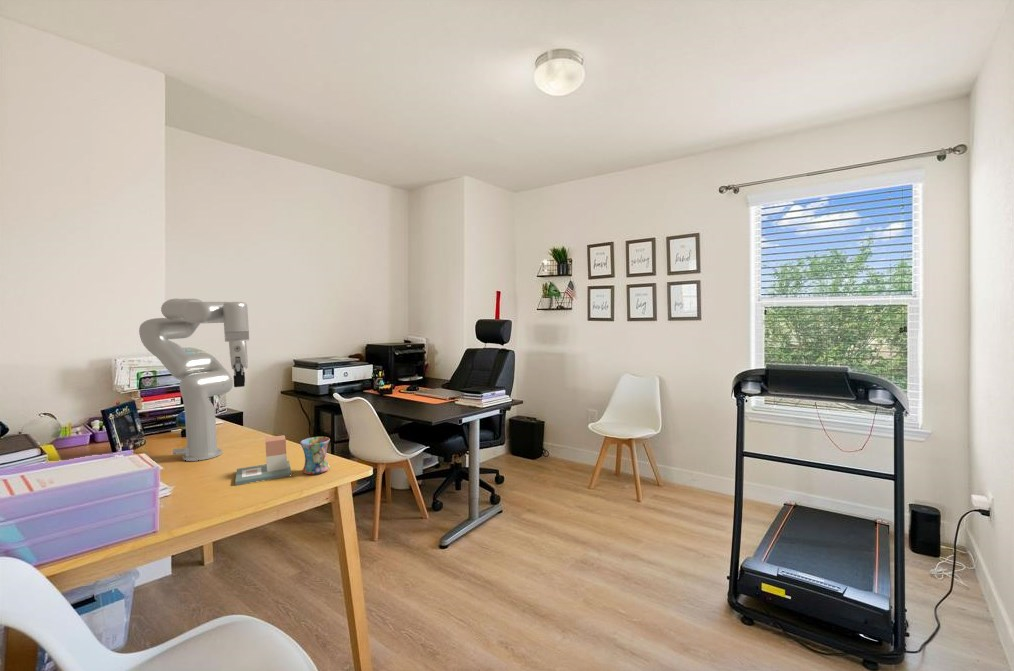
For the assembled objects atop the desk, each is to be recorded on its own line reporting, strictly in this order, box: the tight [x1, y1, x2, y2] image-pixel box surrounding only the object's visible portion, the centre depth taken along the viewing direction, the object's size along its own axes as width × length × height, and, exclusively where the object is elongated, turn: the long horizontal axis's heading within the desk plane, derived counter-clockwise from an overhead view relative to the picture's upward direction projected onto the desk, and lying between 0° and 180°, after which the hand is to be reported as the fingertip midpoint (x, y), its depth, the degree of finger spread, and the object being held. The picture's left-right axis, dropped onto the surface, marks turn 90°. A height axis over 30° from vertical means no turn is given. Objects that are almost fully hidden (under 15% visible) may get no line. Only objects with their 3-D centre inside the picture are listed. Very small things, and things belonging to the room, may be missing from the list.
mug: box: [299, 436, 331, 475], centre depth 158 cm, size 12×9×11 cm
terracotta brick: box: [264, 434, 287, 458], centre depth 160 cm, size 6×6×5 cm
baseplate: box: [235, 453, 293, 486], centre depth 158 cm, size 16×14×7 cm
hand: (239, 384), depth 168 cm, fingers open, 9 cm apart
